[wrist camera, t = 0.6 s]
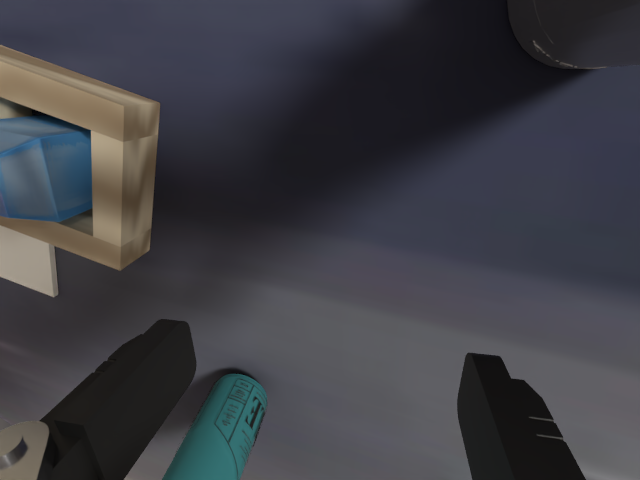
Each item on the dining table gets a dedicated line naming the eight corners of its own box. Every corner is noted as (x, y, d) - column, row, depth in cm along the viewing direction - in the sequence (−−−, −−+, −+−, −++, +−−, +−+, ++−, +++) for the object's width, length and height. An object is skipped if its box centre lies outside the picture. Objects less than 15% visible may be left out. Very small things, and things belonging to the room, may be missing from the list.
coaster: (-29, 195, 33) (-36, 197, 33) (52, 226, 33) (47, 228, 33) (-14, 266, 38) (-20, 269, 37) (58, 294, 37) (53, 297, 37)
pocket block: (-3, 43, 26) (-64, 37, 23) (160, 102, 26) (123, 106, 22) (19, 201, 33) (-26, 215, 29) (149, 250, 32) (120, 270, 29)
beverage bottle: (209, 369, 38) (54, 619, 20) (253, 354, 36) (121, 622, 18) (241, 407, 40) (125, 667, 22) (285, 395, 38) (194, 675, 20)
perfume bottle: (58, 184, 31) (-114, 237, 20) (42, 115, 28) (-167, 134, 18) (118, 197, 30) (-27, 258, 20) (108, 127, 28) (-67, 155, 17)
